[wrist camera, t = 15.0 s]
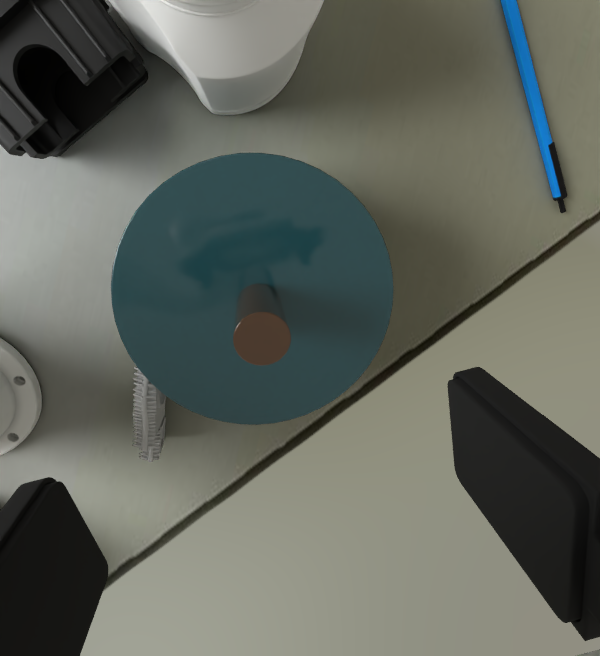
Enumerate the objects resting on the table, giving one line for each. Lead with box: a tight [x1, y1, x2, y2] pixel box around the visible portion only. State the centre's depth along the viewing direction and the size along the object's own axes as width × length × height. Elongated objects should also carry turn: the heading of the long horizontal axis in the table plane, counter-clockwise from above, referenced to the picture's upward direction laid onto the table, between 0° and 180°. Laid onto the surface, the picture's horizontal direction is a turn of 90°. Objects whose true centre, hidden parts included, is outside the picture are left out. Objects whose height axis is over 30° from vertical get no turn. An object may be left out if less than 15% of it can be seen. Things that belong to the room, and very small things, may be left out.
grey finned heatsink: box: [132, 363, 166, 462], centre depth 31 cm, size 12×2×6 cm, turn 171°
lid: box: [111, 153, 393, 425], centre depth 21 cm, size 16×16×7 cm
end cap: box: [0, 0, 148, 159], centre depth 23 cm, size 10×7×7 cm
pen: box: [500, 0, 567, 213], centre depth 30 cm, size 1×19×1 cm, turn 29°
